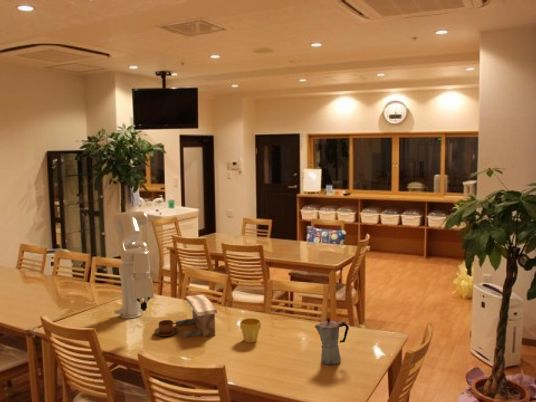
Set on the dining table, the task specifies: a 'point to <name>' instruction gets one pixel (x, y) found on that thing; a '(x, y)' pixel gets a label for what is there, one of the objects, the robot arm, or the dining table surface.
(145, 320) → the dining table surface
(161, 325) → the cup and saucer
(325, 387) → the dining table surface
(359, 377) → the dining table surface
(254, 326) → the plant pot
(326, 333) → the moka pot
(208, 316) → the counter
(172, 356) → the dining table surface
